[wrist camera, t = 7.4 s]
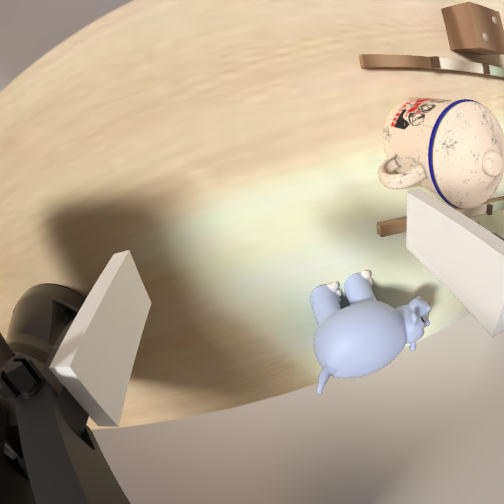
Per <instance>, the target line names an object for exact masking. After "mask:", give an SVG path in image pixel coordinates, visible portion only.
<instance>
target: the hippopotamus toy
mask: <svg viewBox="0 0 504 504" xmlns="http://www.w3.org/2000/svg"><path fill="white" fill-rule="evenodd" d="M370 275H371V274H370V271H368V270H365V271H363V272H361V273H355V274H352V275H351V276H350V277H349V278H348V279H347V280H346V282H345V285H344V290H345V294H346V296H347V299H348V301H349V304H350V306H347V307H345V308H343V309H341V307H340V305H339V303H340V302H341V299H340V297H341V291H340V290H339V289H337V288H338V286H339V284H338V283H337V282H334V283H331V284H328V285H321V286H318V287H316V288H315V289H314V290H313V291H312V293H311V295H310V302H311V305H312V308H313V311H314V314H315V317H316V320H317V323H318V326H319V327H318V329H317V331H316V333H315V336H314V351H315V355H316V358H317V360H318V362H319V364H320V365H321V366H322V368H323V369H322V370H321V372H320V375H319V381H318V389H317V393H318V394H321V393H322V389H323V387H324V385H325V384H326V382H327V381H328V379H329V377H330V376H331V375H332V376H334V377H337V378H355V377H361V376H365V375H369V374H372V373H374V372H376V371H378V370H380V369H382V368H384V367H385V366H386V365H388V364H389V363H390V362H391V361H392V360H394V359H395V358H396V357H397V355H398V354H399V353H400V352H401V351H402V350H403V348H404V346H405V344H406V343H411V345H410V347H409V348H410V350H411V351H414V350H415V349H416V345H415V342H416V341H417V340H419V339H420V338H421V337H422V336H423V335H424V327H426V326H429V325H430V321H429V320H428V314H429V311H430V310H431V306H430V305H429V303H428V302H427V301H423V298H422V297H416V298H414V299H413V300H411V301H410V302H409V304H407V305H402V306H399V307H397V308H396V309H395V308H393V307H392V306H390V305H388V304H386V303H383V302H380V301H377V300H376V298H375V296H374V293H373V291H372V288H371V286H372V279H371V278H370Z"/></svg>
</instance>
